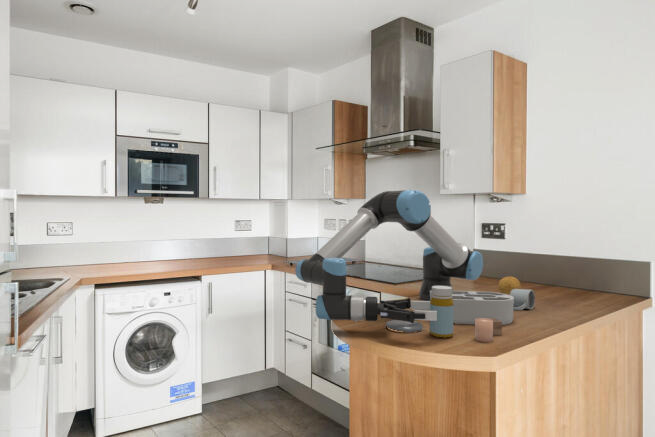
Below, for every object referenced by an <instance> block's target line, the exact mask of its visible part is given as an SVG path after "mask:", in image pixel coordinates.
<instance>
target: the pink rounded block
mask: <svg viewBox="0 0 655 437" xmlns="http://www.w3.org/2000/svg"><path fill="white" fill-rule="evenodd" d="M474 340H475V341H477V342H481V343H492V342H493V341H494V336H493V320H492V319H488V318H476V319H475V325H474Z"/></svg>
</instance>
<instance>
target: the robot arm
mask: <svg viewBox="0 0 655 437" xmlns="http://www.w3.org/2000/svg"><path fill="white" fill-rule="evenodd" d="M430 202H431V201H430V199H429V197H428V196H427V195H426V194H425V193H424V192H422V191H420V190H415V189H414V190H413V189H405V190H388V191H383V192H380V193H378V194H376V195H375V196H372V198H370V199H369V200H368V201H366V202H365V203H364V204H363V205H361V207H360V208H358V210H357V215H355V216H354V217H352V219H350V221H349V222H348V223H346V224H345V225H344V226H343V227H342V228H341V229H339V231H338V232H337V233H336V234H335V235H334V236H332V237H331V238H330V239H328V241H327V242H326V243H325V244H323V246H321V248H320V249H318V250H317V251H316V252H315V253H314V254H313V255H312V256H311V257H310V258H309V259H302V260H299V261H298V262H297V263H296V265H295V268H294V269H295V271H294V272H295V276H296V277H297V279H298V280H300V281H302V282H304V283H309V284H313V285H318V286H322V294H320V295H317V296H316V300H315V315H316V318H317V319H320V320H329V321H353V322H355V323H357V322H358V321H365V320H366V322H377V321H378V316H380V319H389V320H401V321H407V322H411V323H414V321H429V322H430V321H437V311H430V290H432V286H449V287H452V291H454V289H453V285H452V283H451V278H456V279H461V280H466V281H476V280H477V279H479V277H480V276H481V275H482V272H483V269H484V256H483V255H482V253H481V252H480V251H476V250H474V251H473V250H470V249H469V247H468V246H466V245H465V244H464V243H461V242H457V241H456V240H455V238H453V237H452V235H451V234H449V232H448V231H447V230H445V229H444V228H443V226H442V225H440V223H439V222H438V221H437V220H436V219H435V218H434V217H433V216H432V213H431V212H432V207H431V204H430ZM384 223H397V224H398V223H399V225H400V226H402V227H403V228H404V229H405V230H406V231H408V232H414V233H416V235H417V236H418V237H419V238H421V240H422V241H424V242H425V243H426V245H428V246H427V247H425V248H423V253H422V254H423V255H422V283H421V286H420V288H419V292H418V298H419V297H420V298H421V299H422V300H421V299H420V300H411V298H410V297H407V298H405V299H394V300H393V299H392V300H380V301H379V302H380V303H379V302H378V296H366V297H365V296H364V295H363V296H362V295H347V274H348V273H347V272H348V271H347V261H346V259H344V258H343V257H344V256H346V254H348V253H349V251H350V250H352V248H354V246H355V245H357V244H358V242H360V240H361V239H363V238H364V237H365V235H367V233H369V232H370V231H371V230H376V229H377V228H378V227H379V225H382V224H384ZM408 309H410V310H408Z"/></svg>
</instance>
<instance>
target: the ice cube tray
mask: <svg viewBox="0 0 655 437" xmlns="http://www.w3.org/2000/svg"><path fill="white" fill-rule="evenodd" d="M431 298H432V290H430V301H431ZM452 300H453V304H454V316H453V323H455V324H456V325H474V326H475V319H476V318H496V319H498V320H500V321H502V326H505V325H507V326H508V325H510V324H512V323H513V320H514V310H513V304H514V297H513V296H511V295H507V294H502V293H501V292H495V291H477V290H476V291H474V290H473V291H470V290H468V291H467V290H464V291H463V290H453V291H452ZM455 324H454V325H455Z"/></svg>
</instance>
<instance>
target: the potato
mask: <svg viewBox="0 0 655 437" xmlns="http://www.w3.org/2000/svg"><path fill="white" fill-rule="evenodd" d="M497 287H498V291H499V293H502V294H507V295H509V293H510V291H511V290H513V289H522V285H521V282H520V280H519V279H518V278H517V277H514V276H505V277H503V278H501V279H500V280H499V282H498V284H497Z"/></svg>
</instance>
